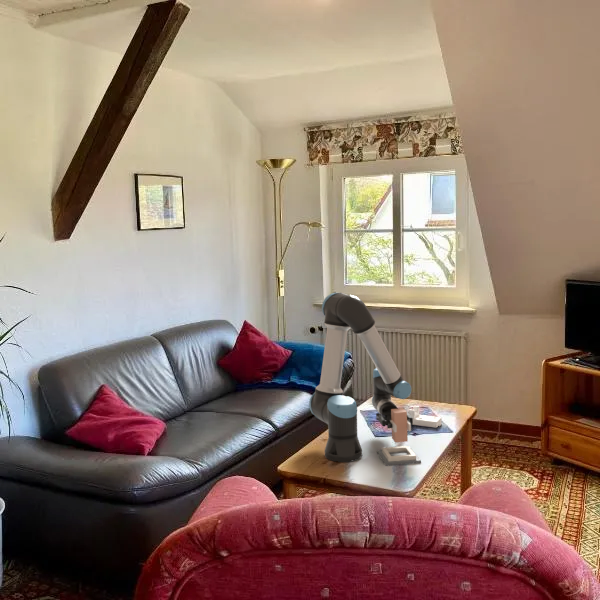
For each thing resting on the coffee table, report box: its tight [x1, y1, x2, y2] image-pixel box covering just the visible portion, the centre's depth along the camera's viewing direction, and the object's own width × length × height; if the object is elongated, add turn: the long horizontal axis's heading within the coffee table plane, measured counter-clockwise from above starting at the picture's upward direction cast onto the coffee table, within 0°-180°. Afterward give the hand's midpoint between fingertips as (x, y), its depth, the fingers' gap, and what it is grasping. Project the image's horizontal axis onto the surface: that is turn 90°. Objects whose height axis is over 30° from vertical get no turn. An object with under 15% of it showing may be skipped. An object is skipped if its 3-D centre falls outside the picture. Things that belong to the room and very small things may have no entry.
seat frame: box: [376, 445, 422, 466], centre depth 264 cm, size 14×14×2 cm
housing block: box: [391, 407, 408, 443], centre depth 263 cm, size 5×5×12 cm
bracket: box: [408, 405, 442, 429], centre depth 303 cm, size 13×7×8 cm, turn 60°
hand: (402, 428), depth 258 cm, fingers closed on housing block, 5 cm apart
